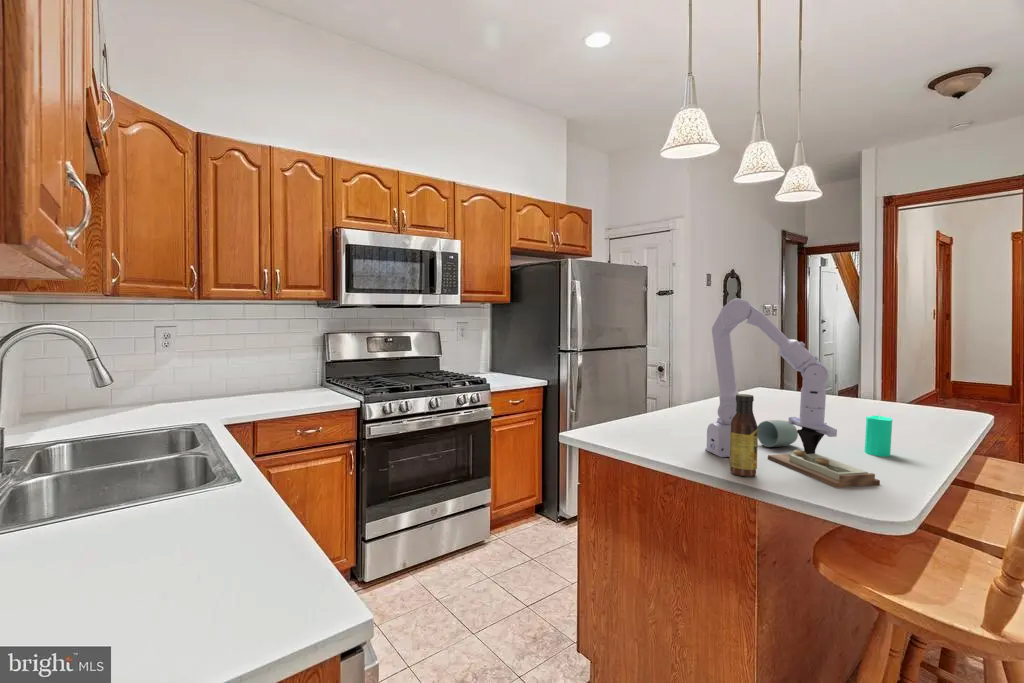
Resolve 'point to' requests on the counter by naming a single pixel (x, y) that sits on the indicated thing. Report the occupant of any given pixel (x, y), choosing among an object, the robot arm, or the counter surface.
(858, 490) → the counter surface
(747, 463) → the sauce bottle
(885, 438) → the candle
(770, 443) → the cup
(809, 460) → the panel
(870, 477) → the board
